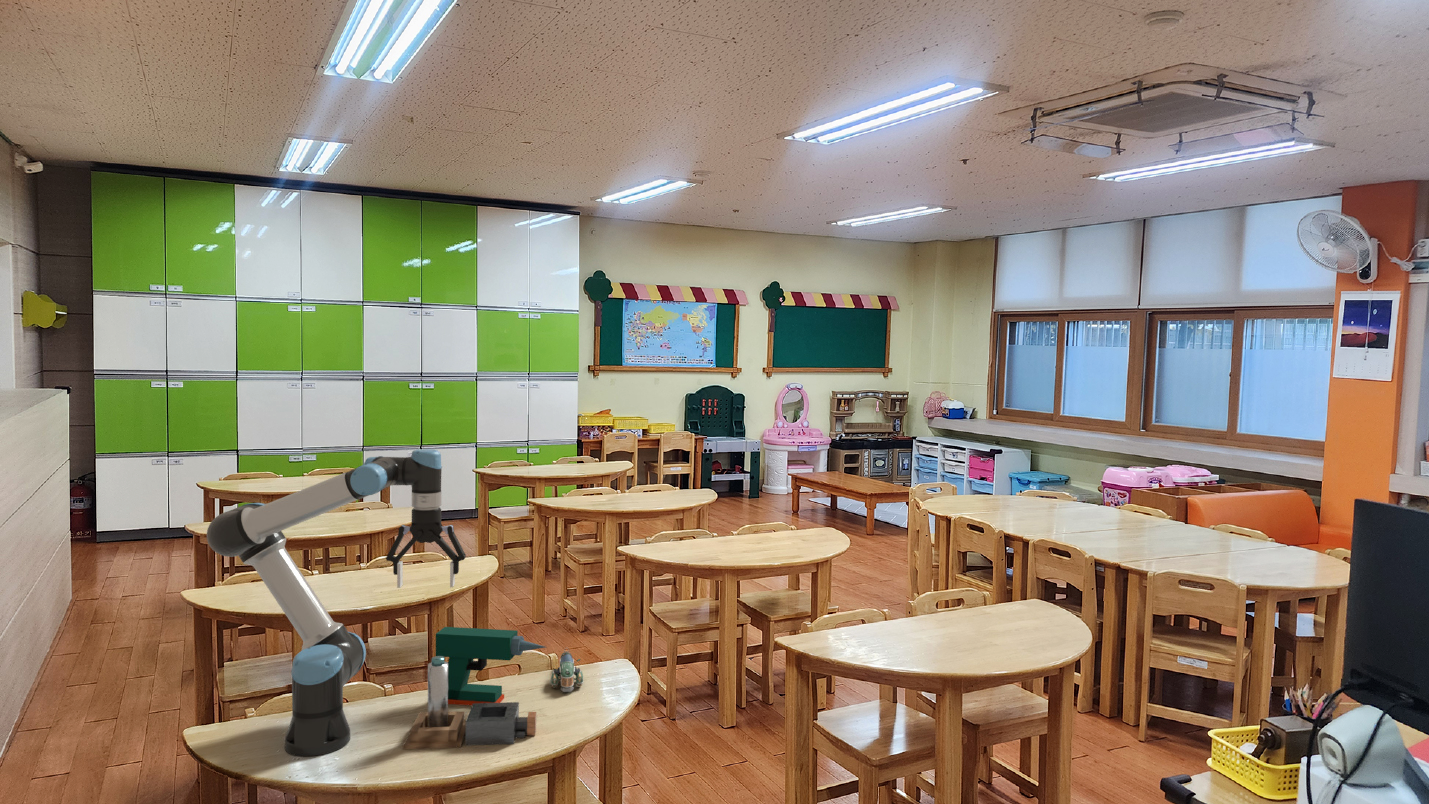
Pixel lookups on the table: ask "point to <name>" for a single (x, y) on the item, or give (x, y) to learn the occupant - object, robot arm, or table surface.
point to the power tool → (476, 645)
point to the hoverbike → (567, 673)
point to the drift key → (527, 724)
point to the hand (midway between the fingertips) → (426, 586)
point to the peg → (438, 692)
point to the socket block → (492, 724)
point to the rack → (437, 733)
